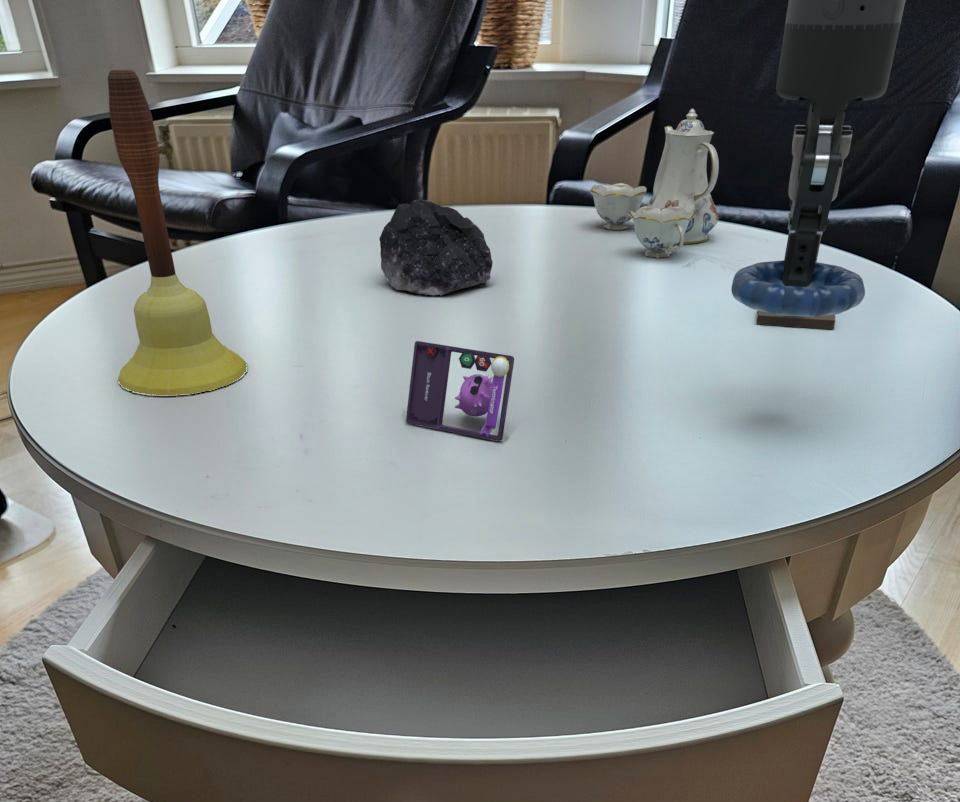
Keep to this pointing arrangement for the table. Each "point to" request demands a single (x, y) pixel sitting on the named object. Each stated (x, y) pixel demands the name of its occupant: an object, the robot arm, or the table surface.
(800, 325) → the post
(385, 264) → the dark grey rock
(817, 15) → the robot arm
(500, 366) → the game card
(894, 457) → the table surface
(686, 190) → the chinaware
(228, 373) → the handbell
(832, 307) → the ring
